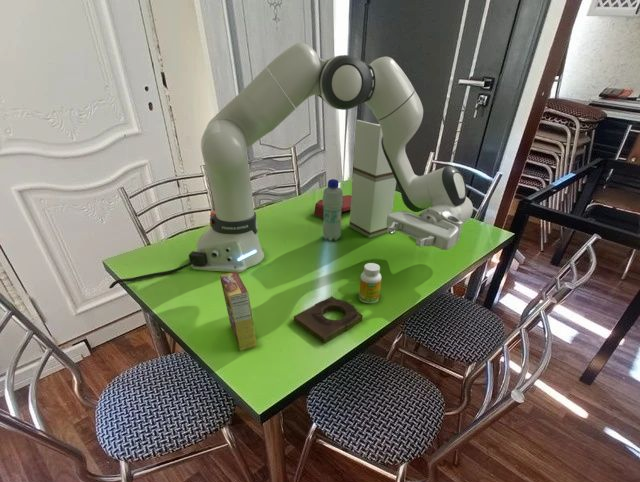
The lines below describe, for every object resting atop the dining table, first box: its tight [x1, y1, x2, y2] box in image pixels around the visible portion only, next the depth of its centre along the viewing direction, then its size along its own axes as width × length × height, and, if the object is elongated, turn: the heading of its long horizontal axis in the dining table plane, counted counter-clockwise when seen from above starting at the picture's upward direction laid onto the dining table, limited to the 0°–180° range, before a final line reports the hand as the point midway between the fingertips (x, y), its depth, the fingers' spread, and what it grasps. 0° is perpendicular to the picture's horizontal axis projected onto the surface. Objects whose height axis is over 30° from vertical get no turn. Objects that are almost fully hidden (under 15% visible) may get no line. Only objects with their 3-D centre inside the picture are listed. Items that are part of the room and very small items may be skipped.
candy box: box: [219, 272, 258, 352], centre depth 80 cm, size 9×4×15 cm, turn 24°
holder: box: [293, 295, 364, 345], centre depth 90 cm, size 14×11×2 cm
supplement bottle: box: [358, 262, 382, 304], centre depth 95 cm, size 5×5×10 cm
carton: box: [313, 194, 351, 220], centre depth 147 cm, size 12×5×25 cm
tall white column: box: [349, 119, 397, 239], centre depth 122 cm, size 11×11×35 cm
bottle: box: [321, 178, 344, 242], centre depth 121 cm, size 7×7×20 cm
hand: (403, 237), depth 96 cm, fingers open, 8 cm apart
